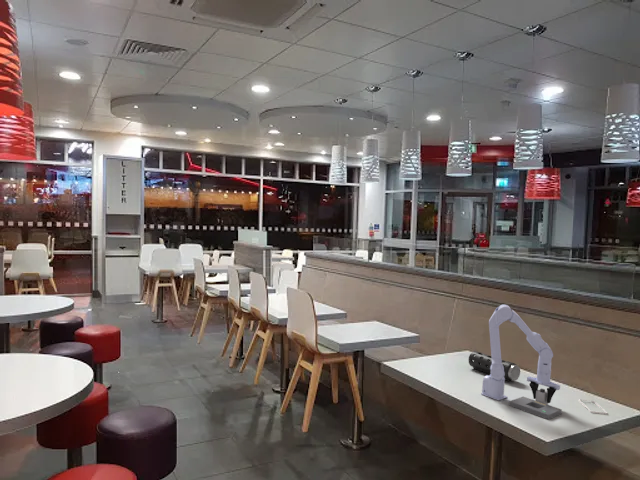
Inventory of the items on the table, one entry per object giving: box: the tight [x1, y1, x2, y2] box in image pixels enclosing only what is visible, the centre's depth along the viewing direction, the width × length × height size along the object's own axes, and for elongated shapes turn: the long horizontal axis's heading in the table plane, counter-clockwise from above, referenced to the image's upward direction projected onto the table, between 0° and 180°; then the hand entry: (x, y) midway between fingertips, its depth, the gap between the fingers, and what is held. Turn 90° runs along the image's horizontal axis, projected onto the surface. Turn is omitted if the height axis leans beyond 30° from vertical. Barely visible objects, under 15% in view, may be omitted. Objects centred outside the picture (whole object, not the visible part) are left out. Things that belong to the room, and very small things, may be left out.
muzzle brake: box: [468, 350, 521, 382], centre depth 263 cm, size 10×28×10 cm, turn 30°
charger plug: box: [535, 388, 549, 405], centre depth 223 cm, size 4×4×7 cm
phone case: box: [578, 399, 608, 415], centre depth 222 cm, size 7×1×15 cm
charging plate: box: [508, 396, 563, 420], centre depth 215 cm, size 18×12×2 cm, turn 38°
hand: (541, 400), depth 223 cm, fingers open, 6 cm apart
